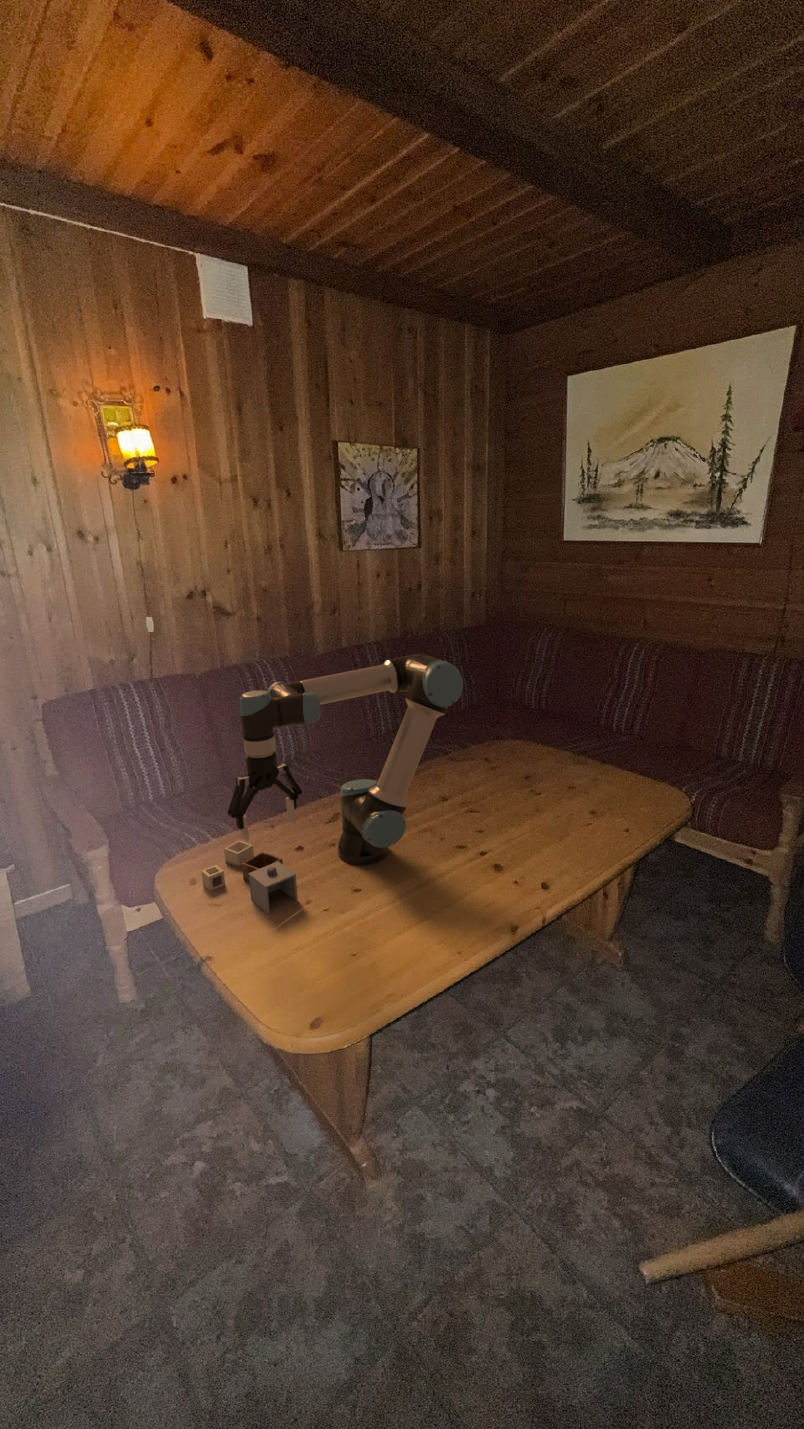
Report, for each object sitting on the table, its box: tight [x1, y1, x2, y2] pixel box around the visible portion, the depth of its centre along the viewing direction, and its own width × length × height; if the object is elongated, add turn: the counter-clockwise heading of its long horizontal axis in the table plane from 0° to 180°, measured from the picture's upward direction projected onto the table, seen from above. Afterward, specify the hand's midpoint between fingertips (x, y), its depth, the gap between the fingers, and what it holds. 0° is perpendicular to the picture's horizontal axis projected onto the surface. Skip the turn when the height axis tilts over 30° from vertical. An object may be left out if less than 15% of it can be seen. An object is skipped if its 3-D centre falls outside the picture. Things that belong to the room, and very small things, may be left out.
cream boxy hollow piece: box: [200, 864, 226, 892], centre depth 174 cm, size 5×4×5 cm
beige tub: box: [223, 840, 255, 868], centre depth 187 cm, size 6×6×4 cm
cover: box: [248, 862, 299, 915], centre depth 166 cm, size 9×9×9 cm
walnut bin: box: [241, 851, 284, 882], centre depth 178 cm, size 8×8×5 cm
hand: (269, 830), depth 161 cm, fingers open, 13 cm apart
